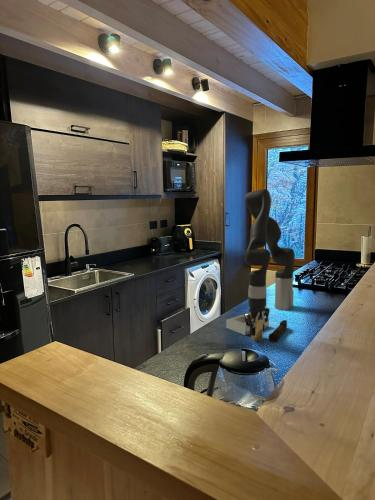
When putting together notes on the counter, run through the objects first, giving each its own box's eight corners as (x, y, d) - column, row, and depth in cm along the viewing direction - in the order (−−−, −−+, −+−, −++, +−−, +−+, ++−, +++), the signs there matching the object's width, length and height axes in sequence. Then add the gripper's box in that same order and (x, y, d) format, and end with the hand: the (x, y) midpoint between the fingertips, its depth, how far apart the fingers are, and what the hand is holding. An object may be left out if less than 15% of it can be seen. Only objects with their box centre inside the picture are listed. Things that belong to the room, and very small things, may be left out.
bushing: (256, 335, 154) (256, 316, 152) (265, 339, 150) (265, 318, 148) (249, 338, 151) (249, 318, 149) (257, 342, 147) (257, 321, 146)
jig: (249, 320, 173) (249, 312, 173) (268, 326, 164) (268, 318, 163) (226, 327, 164) (226, 319, 163) (245, 335, 154) (245, 326, 154)
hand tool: (277, 343, 145) (277, 333, 145) (268, 341, 148) (268, 331, 147) (291, 329, 161) (292, 319, 160) (283, 327, 163) (283, 318, 162)
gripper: (261, 290, 155) (261, 327, 157) (238, 296, 146) (238, 335, 149) (275, 294, 149) (274, 332, 151) (252, 300, 140) (252, 340, 143)
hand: (256, 333), depth 150 cm, fingers closed on bushing, 4 cm apart
